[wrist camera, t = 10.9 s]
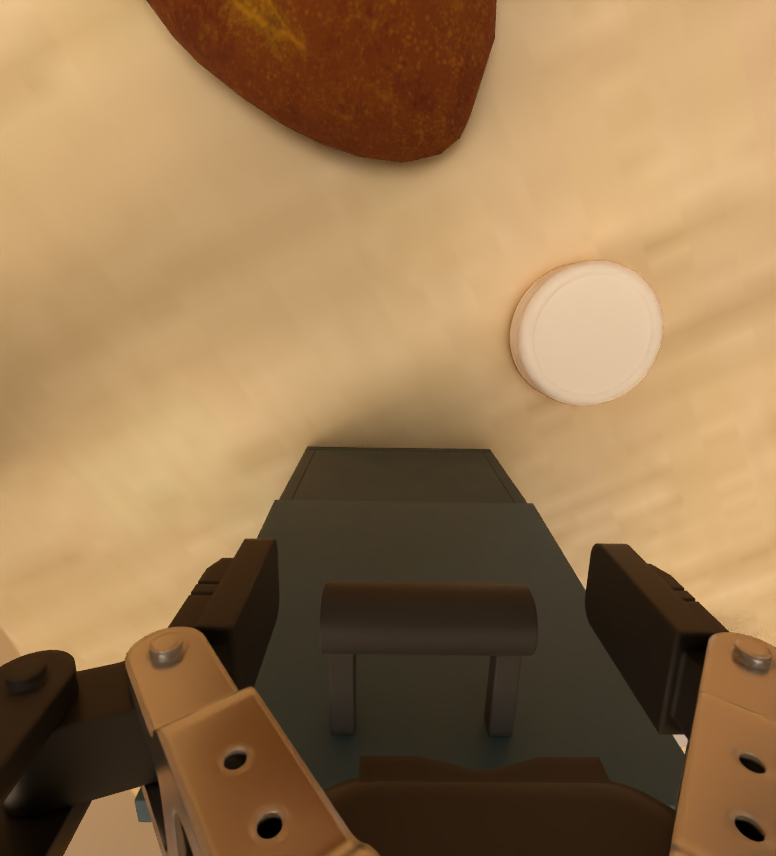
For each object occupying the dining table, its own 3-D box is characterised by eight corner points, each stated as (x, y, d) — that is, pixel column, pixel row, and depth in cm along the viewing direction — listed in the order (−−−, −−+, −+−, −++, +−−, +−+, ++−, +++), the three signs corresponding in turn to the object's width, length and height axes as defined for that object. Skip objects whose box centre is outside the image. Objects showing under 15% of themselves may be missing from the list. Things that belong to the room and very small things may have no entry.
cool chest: (478, 619, 44) (509, 727, 33) (311, 617, 43) (286, 724, 32) (490, 449, 40) (530, 506, 29) (307, 446, 40) (276, 502, 29)
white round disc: (490, 380, 38) (501, 388, 35) (532, 247, 36) (548, 241, 32) (612, 412, 39) (634, 422, 35) (661, 283, 36) (690, 282, 33)
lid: (709, 828, 13) (765, 656, 11) (137, 823, 13) (102, 648, 11) (531, 515, 28) (542, 424, 27) (275, 512, 28) (269, 419, 26)
